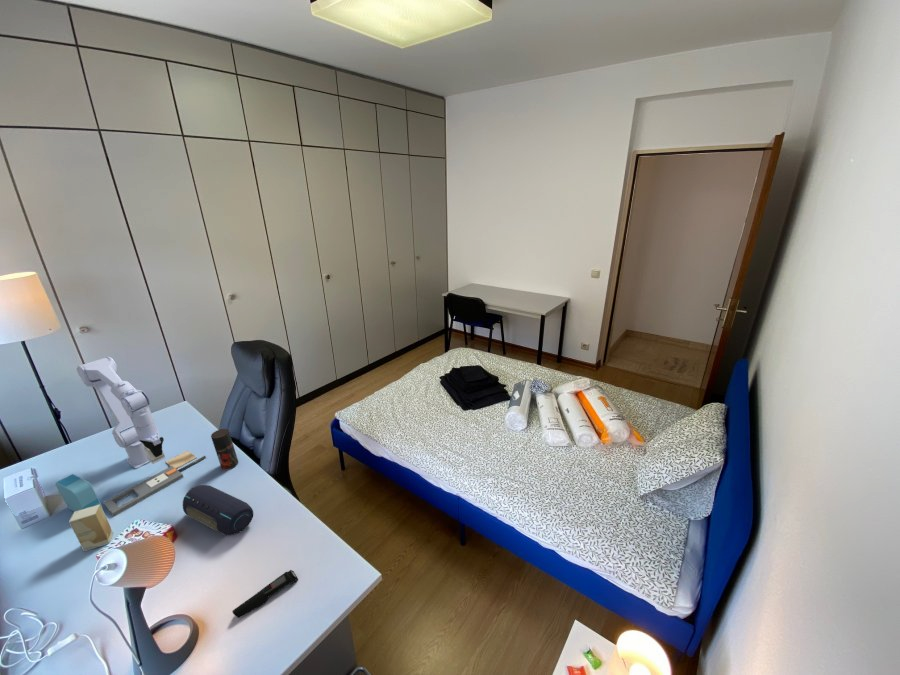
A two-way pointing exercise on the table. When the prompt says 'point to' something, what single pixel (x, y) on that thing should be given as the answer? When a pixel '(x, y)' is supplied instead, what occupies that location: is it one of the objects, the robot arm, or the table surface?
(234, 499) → the portable speaker
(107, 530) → the skincare box
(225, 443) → the deodorant
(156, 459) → the charger plug
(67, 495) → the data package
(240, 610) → the electric trimmer
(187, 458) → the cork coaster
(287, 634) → the table surface
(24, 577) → the table surface
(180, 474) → the power strip
